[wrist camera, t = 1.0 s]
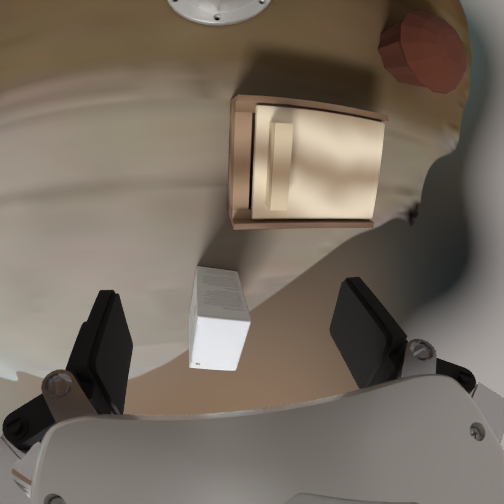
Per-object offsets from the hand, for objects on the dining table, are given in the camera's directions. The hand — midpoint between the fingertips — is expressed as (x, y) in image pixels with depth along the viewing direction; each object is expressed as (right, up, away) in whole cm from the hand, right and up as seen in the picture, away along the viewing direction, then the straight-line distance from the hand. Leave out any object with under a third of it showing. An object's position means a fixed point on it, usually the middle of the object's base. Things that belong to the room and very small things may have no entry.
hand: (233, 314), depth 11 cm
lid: (+8, +11, +16) cm, 21 cm away
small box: (-5, -3, +27) cm, 28 cm away
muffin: (+21, +30, +16) cm, 40 cm away
